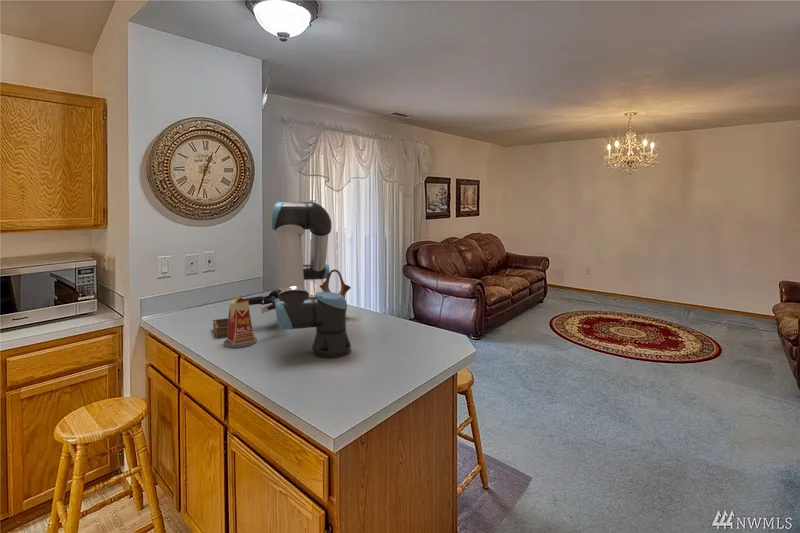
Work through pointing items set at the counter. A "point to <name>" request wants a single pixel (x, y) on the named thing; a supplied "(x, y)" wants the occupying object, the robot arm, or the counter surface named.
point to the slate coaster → (229, 345)
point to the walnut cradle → (221, 328)
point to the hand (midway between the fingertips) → (248, 308)
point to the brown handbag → (343, 287)
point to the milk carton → (240, 322)
